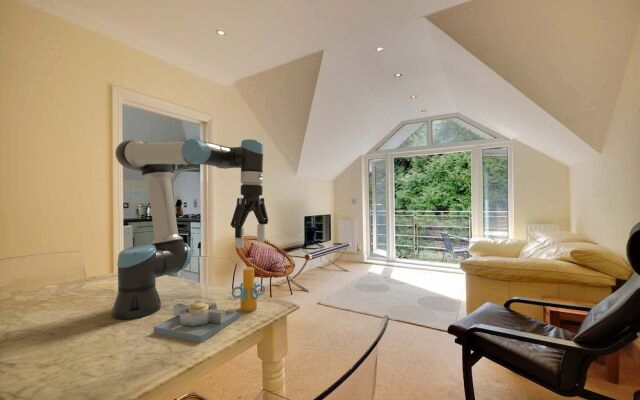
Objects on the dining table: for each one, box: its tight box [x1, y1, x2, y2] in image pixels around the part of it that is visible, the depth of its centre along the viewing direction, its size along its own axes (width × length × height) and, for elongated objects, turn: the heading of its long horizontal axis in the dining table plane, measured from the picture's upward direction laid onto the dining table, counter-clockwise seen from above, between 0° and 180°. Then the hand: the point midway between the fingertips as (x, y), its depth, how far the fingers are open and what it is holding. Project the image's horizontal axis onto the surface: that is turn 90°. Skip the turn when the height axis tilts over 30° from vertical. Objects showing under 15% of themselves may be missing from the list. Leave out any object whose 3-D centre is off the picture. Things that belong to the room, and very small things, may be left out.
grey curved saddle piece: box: [173, 299, 226, 326], centre depth 94 cm, size 19×11×4 cm, turn 70°
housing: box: [153, 302, 240, 344], centre depth 94 cm, size 18×18×7 cm
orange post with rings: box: [231, 266, 266, 312], centre depth 108 cm, size 12×10×15 cm
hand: (250, 244), depth 102 cm, fingers open, 13 cm apart
